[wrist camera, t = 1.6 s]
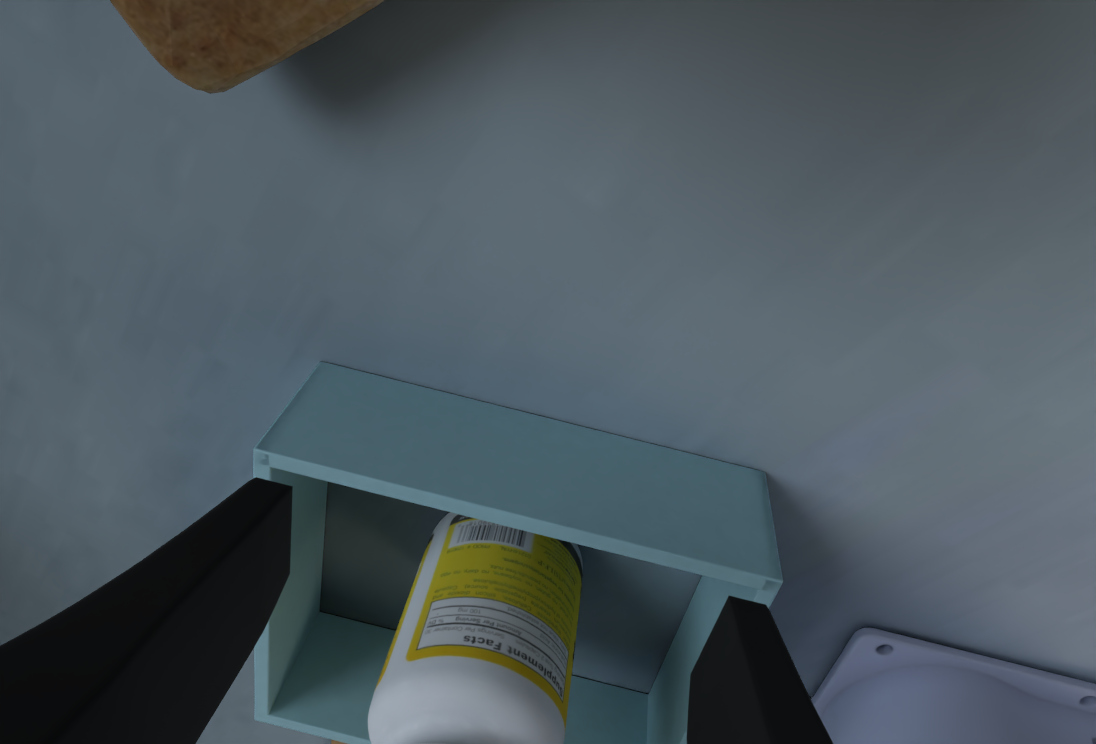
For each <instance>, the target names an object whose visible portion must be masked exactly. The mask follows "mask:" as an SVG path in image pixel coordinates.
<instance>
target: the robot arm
mask: <svg viewBox="0 0 1096 744" xmlns="http://www.w3.org/2000/svg"><path fill="white" fill-rule="evenodd" d="M292 491H293V486H289V485H285V484H281V483H277V482H273V481H269V480H265V479H261V478H257V477H256V478H254V479H252V480H250V481H248V482H247V483H246V484H245V485H243V486H242V487H241V488H239V489H238V490H237V491H235V492H234V493H233V494H232V495H230V496H229V497H228V498H226V499H225V500H224V501H222V502H221V503H220V504H219V505H217V506H216V507H215V508H213V509H212V510H211V511H209V512H208V513H207V514H205V515H204V516H203V517H201V518H200V519H199V520H197V521H196V522H195V523H193V524H192V525H191V526H189V527H188V528H187V529H185V530H184V531H182V532H181V533H180V534H178V535H177V536H175V537H174V538H173V539H171V540H170V541H168V542H167V543H166V544H164V545H163V546H161V547H160V548H159V549H157V550H156V551H154V552H153V553H151V554H150V555H149V556H147V557H146V558H144V559H143V560H142V561H140V562H139V563H137V564H136V565H134V566H133V567H131V568H130V569H128V570H127V571H125V572H124V573H122V574H120V575H119V576H117V577H116V578H114V579H113V580H111V581H110V582H108V583H106V584H105V585H103V586H102V587H100V588H99V589H97V590H96V591H94V592H92V593H91V594H89V595H88V596H86V597H85V598H83V599H82V600H80V601H78V602H77V603H75V604H73V605H72V606H70V607H68V608H67V609H65V610H63V611H62V612H60V613H58V614H57V615H55V616H53V617H51V618H50V619H48V620H46V621H44V622H43V623H41V624H39V625H37V626H36V627H34V628H32V629H30V630H28V631H27V632H25V633H23V634H21V635H19V636H18V637H16V638H14V639H12V640H10V641H8V642H7V643H5V644H3V645H1V646H0V744H195V743H196V742H197V740H198V739H199V737H200V735H201V734H202V732H203V730H204V729H205V727H206V725H207V724H208V722H209V721H210V719H211V717H212V716H213V714H214V712H215V711H216V709H217V707H218V706H219V704H220V703H221V701H222V699H223V698H224V696H225V694H226V693H227V691H228V689H229V688H230V686H231V685H232V683H233V681H234V680H235V678H236V676H237V675H238V673H239V671H240V670H241V668H242V666H243V665H244V663H245V661H246V660H247V658H248V657H249V655H250V653H251V652H252V650H253V648H254V647H255V645H256V643H257V641H258V640H259V638H260V636H261V635H262V633H263V631H264V629H265V627H266V625H267V623H268V621H269V619H270V617H271V614H272V612H273V610H274V608H275V606H276V604H277V602H278V599H279V597H280V595H281V593H282V590H283V588H284V586H285V584H286V581H287V579H288V577H289V575H290V557H291V524H292ZM882 645H883V646H882ZM687 744H1096V684H1094V683H1090V682H1086V681H1082V680H1078V679H1074V678H1070V677H1066V676H1062V675H1058V674H1054V673H1050V672H1046V671H1042V670H1038V669H1034V668H1030V667H1026V666H1022V665H1018V664H1014V663H1010V662H1006V661H1002V660H998V659H995V658H991V657H987V656H983V655H979V654H975V653H971V652H967V651H963V650H959V649H955V648H951V647H947V646H943V645H939V644H935V643H931V642H927V641H923V640H919V639H915V638H911V637H907V636H903V635H899V634H895V633H891V632H887V631H883V630H879V629H875V628H868V627H867V628H862V629H860V630H857V631H856V632H855V633H854V634H853V636H852V637H851V639H850V640H849V642H848V643H847V645H846V647H845V648H844V650H843V651H842V653H841V654H840V656H839V657H838V659H837V661H836V662H835V664H834V665H833V667H832V668H831V670H830V671H829V673H828V675H827V676H826V678H825V679H824V681H823V682H822V684H821V685H820V687H819V688H818V690H817V692H816V693H815V695H814V696H813V698H812V699H810V697H809V695H808V693H807V691H806V689H805V686H804V684H803V682H802V680H801V678H800V676H799V674H798V672H797V670H796V667H795V665H794V663H793V661H792V659H791V657H790V654H789V652H788V650H787V648H786V646H785V644H784V641H783V639H782V637H781V635H780V632H779V630H778V628H777V626H776V624H775V621H774V619H773V617H772V615H771V612H770V611H769V609H768V607H767V605H765V604H761V603H757V602H753V601H749V600H745V599H741V598H737V597H733V596H728V598H727V600H726V602H725V604H724V606H723V608H722V611H721V613H720V615H719V617H718V619H717V621H716V623H715V625H714V627H713V629H712V631H711V633H710V635H709V637H708V639H707V641H706V643H705V645H704V647H703V649H702V652H701V654H700V656H699V658H698V660H697V662H696V664H695V666H694V668H693V670H692V672H691V674H690V688H689V703H688V721H687Z"/></svg>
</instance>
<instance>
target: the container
mask: <svg viewBox="0 0 1096 744" xmlns="http://www.w3.org/2000/svg"><path fill="white" fill-rule="evenodd" d="M253 475H254V478H256V477H257V478H261V479H265V480H269V481H273V482H277V483H281V484H285V485H289V486H293V491H292V524H291V557H290V575H289V577H288V579H287V581H286V584H285V586H284V588H283V590H282V593H281V595H280V597H279V599H278V602H277V604H276V606H275V608H274V610H273V612H272V614H271V617H270V619H269V621H268V623H267V625H266V627H265V629H264V631H263V633H262V635H261V636H260V638H259V640H258V641H257V643H256V645H255V647H254V670H255V720H257V721H260V722H264V723H268V724H272V725H276V726H280V727H284V728H288V729H292V730H296V731H300V732H304V733H308V734H312V735H316V736H320V737H324V738H328V739H331V740H335V741H339V742H343V743H347V744H371V741H370V738H369V732H368V713H369V708H370V705H371V701H372V698H373V694H374V691H375V688H376V685H377V683H378V680H379V677H380V674H381V671H382V669H383V666H384V663H385V660H386V658H387V655H388V652H389V649H390V646H391V644H392V641H393V638H394V635H395V633H396V631H394V630H390V629H386V628H382V627H378V626H374V625H370V624H366V623H362V622H358V621H354V620H351V619H347V618H343V617H339V616H335V615H331V614H327V613H323V612H319V611H320V595H321V580H322V564H323V548H324V533H325V517H326V501H327V486H328V482H332V483H336V484H340V485H344V486H348V487H352V488H356V489H360V490H364V491H368V492H372V493H376V494H380V495H383V496H387V497H391V498H395V499H399V500H403V501H407V502H411V503H415V504H419V505H423V506H427V507H431V508H435V509H439V510H443V511H447V512H451V513H455V514H459V515H463V516H467V517H471V518H475V519H479V520H483V521H487V522H491V523H495V524H499V525H503V526H507V527H511V528H515V529H519V530H523V531H527V532H531V533H535V534H539V535H543V536H547V537H551V538H555V539H559V540H563V541H567V542H571V543H575V544H579V545H583V546H587V547H591V548H595V549H599V550H603V551H607V552H611V553H615V554H619V555H623V556H627V557H631V558H635V559H639V560H643V561H647V562H651V563H655V564H659V565H663V566H666V567H670V568H674V569H678V570H682V571H686V572H690V573H694V574H698V575H702V577H701V579H700V581H699V584H698V586H697V588H696V590H695V593H694V595H693V597H692V599H691V601H690V604H689V606H688V608H687V610H686V612H685V615H684V617H683V619H682V621H681V624H680V626H679V628H678V630H677V632H676V635H675V637H674V639H673V641H672V644H671V646H670V648H669V650H668V652H667V655H666V657H665V659H664V661H663V663H662V666H661V668H660V670H659V672H658V675H657V677H656V679H655V681H654V683H653V686H652V688H651V690H650V692H649V694H644V693H640V692H636V691H632V690H628V689H624V688H620V687H616V686H612V685H608V684H604V683H600V682H596V681H592V680H588V679H584V678H580V677H576V676H572V677H571V685H570V693H569V702H568V711H567V720H566V729H565V738H564V743H563V744H687V721H688V703H689V688H690V674H691V672H692V670H693V668H694V666H695V664H696V662H697V660H698V658H699V656H700V654H701V652H702V649H703V647H704V645H705V643H706V641H707V639H708V637H709V635H710V633H711V631H712V629H713V627H714V625H715V623H716V621H717V619H718V617H719V615H720V613H721V611H722V608H723V606H724V604H725V602H726V600H727V598H728V596H733V597H737V598H741V599H745V600H749V601H753V602H757V603H761V604H765V605H767V607H768V609H769V608H770V606H771V604H772V602H773V600H774V598H775V597H776V595H777V593H778V591H779V589H780V587H781V585H782V584H783V577H782V571H781V564H780V558H779V552H778V546H777V540H776V534H775V528H774V522H773V515H772V509H771V503H770V497H769V491H768V485H767V479H766V473H765V472H763V471H759V470H755V469H751V468H747V467H743V466H739V465H735V464H731V463H727V462H723V461H719V460H715V459H711V458H707V457H703V456H699V455H695V454H691V453H687V452H682V451H678V450H674V449H670V448H666V447H662V446H658V445H654V444H650V443H646V442H642V441H638V440H634V439H630V438H626V437H622V436H618V435H614V434H610V433H606V432H602V431H598V430H594V429H590V428H586V427H582V426H578V425H574V424H570V423H566V422H562V421H558V420H554V419H550V418H546V417H542V416H538V415H534V414H530V413H526V412H522V411H518V410H514V409H510V408H506V407H502V406H498V405H494V404H490V403H486V402H482V401H478V400H474V399H470V398H466V397H462V396H458V395H454V394H450V393H446V392H442V391H438V390H434V389H430V388H426V387H422V386H418V385H414V384H410V383H406V382H402V381H398V380H394V379H390V378H386V377H382V376H378V375H374V374H370V373H366V372H362V371H358V370H354V369H350V368H346V367H342V366H338V365H334V364H330V363H326V362H322V361H321V362H319V364H318V365H317V366H316V368H315V369H314V370H313V371H312V373H311V374H310V375H309V377H308V378H307V379H306V381H305V382H304V383H303V385H302V386H301V387H300V389H299V390H298V391H297V392H296V394H295V395H294V396H293V398H292V399H291V400H290V402H289V403H288V404H287V406H286V407H285V408H284V410H283V411H282V412H281V413H280V415H279V416H278V417H277V419H276V420H275V421H274V423H273V424H272V425H271V427H270V428H269V429H268V431H267V432H266V433H265V434H264V436H263V437H262V438H261V440H260V441H259V442H258V444H257V445H256V446H255V448H254V449H253Z"/></svg>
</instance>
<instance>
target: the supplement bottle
mask: <svg viewBox="0 0 1096 744" xmlns="http://www.w3.org/2000/svg"><path fill="white" fill-rule="evenodd" d="M582 576H583V562H582V556H581V552H580V549H579V547H578V545H577V544H575V543H571V542H567V541H563V540H559V539H555V538H551V537H547V536H543V535H539V534H535V533H531V532H527V531H523V530H519V529H515V528H511V527H507V526H503V525H499V524H495V523H491V522H487V521H483V520H479V519H475V518H471V517H467V516H463V515H459V514H455V513H451V512H449V513H448V514H447V515H446V516H444V517H443V518H442V520H441V521H440V522H439V523H438V524H437V526H436V527H435V529H434V531H433V532H432V535H431V537H430V539H429V542H428V544H427V546H426V549H425V552H424V555H423V557H422V560H421V563H420V565H419V568H418V571H417V574H416V577H415V580H414V582H413V585H412V588H411V591H410V594H409V596H408V599H407V602H406V605H405V607H404V610H403V613H402V616H401V619H400V621H399V624H398V627H397V630H396V633H395V635H394V638H393V641H392V644H391V646H390V649H389V652H388V655H387V658H386V660H385V663H384V666H383V669H382V671H381V674H380V677H379V680H378V683H377V685H376V688H375V691H374V694H373V698H372V701H371V705H370V708H369V713H368V732H369V738H370V741H371V744H563V743H564V738H565V729H566V720H567V711H568V702H569V693H570V685H571V677H572V666H573V659H574V650H575V642H576V633H577V624H578V616H579V607H580V598H581V590H582Z"/></svg>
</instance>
